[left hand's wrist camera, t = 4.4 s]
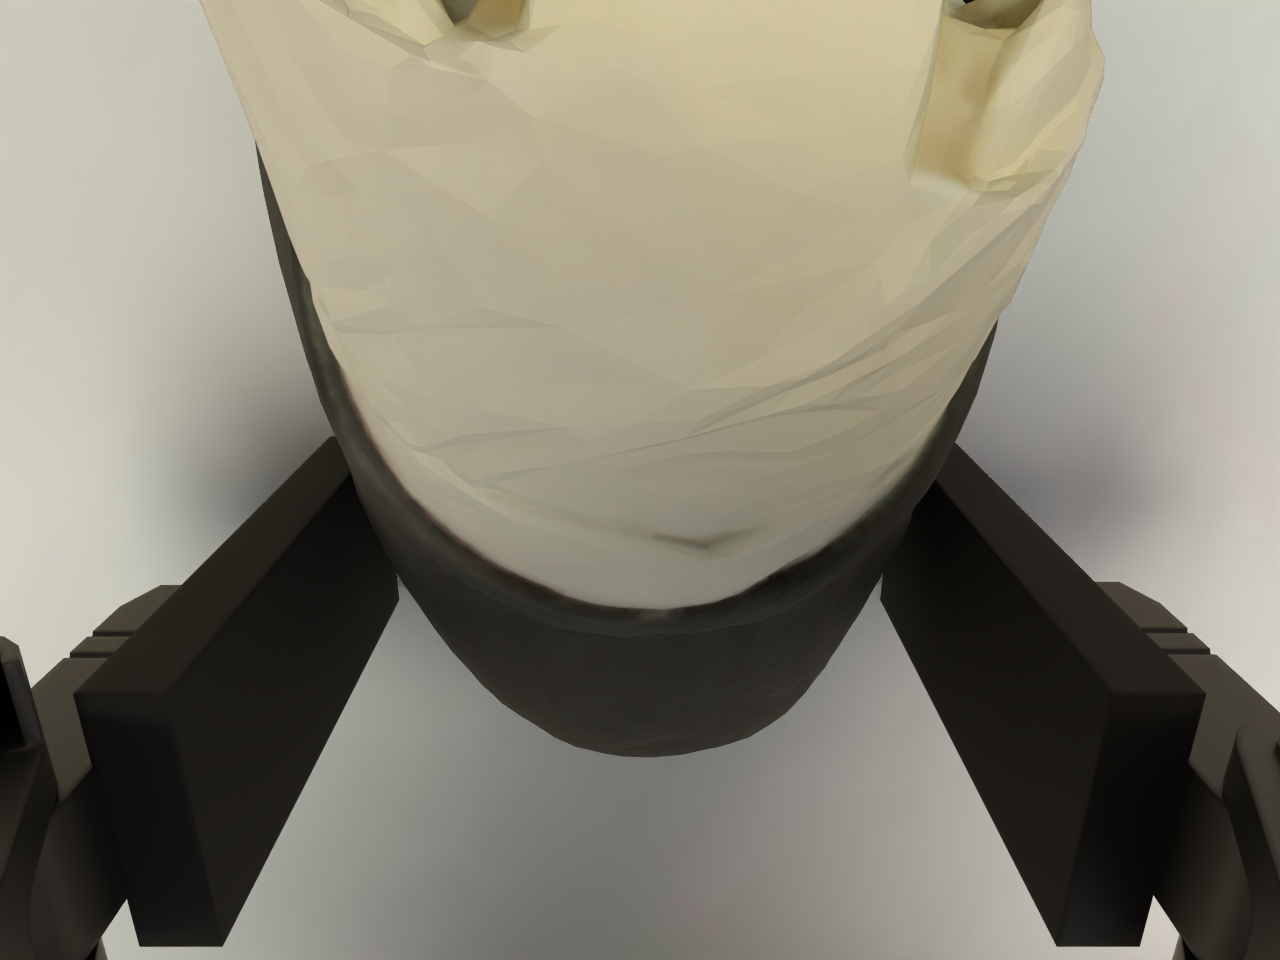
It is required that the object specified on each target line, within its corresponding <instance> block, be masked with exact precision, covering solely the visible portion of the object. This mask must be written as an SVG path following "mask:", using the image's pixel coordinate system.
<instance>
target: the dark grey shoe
mask: <svg viewBox="0 0 1280 960" xmlns="http://www.w3.org/2000/svg"><path fill="white" fill-rule="evenodd" d="M200 2H201V5H202V7H203V10H204V12H205V15H206V17H207V20H208V22H209V25H210V27H211V30H212V32H213V35H214V37H215V40H216V42H217V45H218V47H219V50H220V52H221V55H222V57H223V60H224V62H225V65H226V67H227V70H228V72H229V75H230V77H231V80H232V82H233V85H234V87H235V90H236V92H237V95H238V97H239V100H240V102H241V105H242V107H243V110H244V112H245V115H246V117H247V120H248V122H249V125H250V127H251V130H252V132H253V135H254V138H255V143H256V150H257V156H258V163H259V169H260V174H261V180H262V186H263V191H264V196H265V201H266V205H267V210H268V214H269V219H270V223H271V228H272V232H273V237H274V241H275V246H276V250H277V255H278V259H279V264H280V267H281V271H282V274H283V278H284V281H285V285H286V288H287V292H288V295H289V299H290V302H291V306H292V309H293V313H294V316H295V320H296V323H297V327H298V330H299V334H300V338H301V341H302V345H303V348H304V352H305V355H306V359H307V361H308V364H309V367H310V370H311V372H312V376H313V379H314V382H315V385H316V389H317V392H318V395H319V398H320V402H321V404H322V406H323V409H324V411H325V413H326V416H327V418H328V420H329V422H330V425H331V427H332V429H333V431H334V434H335V436H336V438H337V440H338V442H339V444H340V446H341V448H342V451H343V453H344V456H345V458H346V461H347V463H348V466H349V469H350V471H351V474H352V477H353V481H354V484H355V488H356V491H357V495H358V498H359V500H360V502H361V504H362V506H363V508H364V511H365V513H366V515H367V517H368V519H369V521H370V523H371V526H372V528H373V530H374V532H375V534H376V536H377V538H378V539H379V541H380V543H381V545H382V547H383V548H384V550H385V552H386V554H387V555H388V557H389V559H390V561H391V563H392V564H393V566H394V568H395V570H396V572H397V573H398V575H399V577H400V579H401V580H402V582H403V584H404V585H405V586H406V588H407V589H408V591H409V592H410V594H411V595H412V596H413V598H414V599H415V601H416V602H417V603H418V605H419V606H420V608H421V609H422V611H423V612H424V614H425V615H426V617H427V618H428V620H429V621H430V622H431V624H432V625H433V627H434V628H435V630H436V631H437V632H438V633H439V635H440V636H441V637H442V639H443V640H444V641H445V643H446V644H447V645H448V646H449V648H450V649H451V650H452V652H453V653H454V654H455V655H456V656H457V657H458V658H459V659H460V660H461V661H462V662H463V663H464V665H465V666H466V667H467V668H468V669H469V670H470V671H471V672H472V673H473V674H474V676H475V677H476V678H477V679H478V680H479V682H480V683H481V684H482V685H483V686H484V687H485V688H487V689H488V690H489V691H490V692H491V693H492V694H493V695H494V696H495V697H496V698H497V699H498V700H499V701H500V702H501V703H502V704H504V705H505V706H507V707H508V708H510V709H511V710H513V711H514V712H516V713H517V714H519V715H520V716H522V717H523V718H525V719H527V720H529V721H530V722H532V723H534V724H535V725H537V726H538V727H540V728H541V729H543V730H545V731H546V732H548V733H549V734H551V735H552V736H554V737H555V738H558V739H560V740H562V741H564V742H566V743H569V744H571V745H573V746H575V747H579V748H583V749H588V750H592V751H596V752H600V753H605V754H611V755H618V756H629V757H660V756H671V755H682V754H687V753H691V752H696V751H700V750H705V749H710V748H715V747H719V746H723V745H726V744H730V743H733V742H736V741H739V740H742V739H745V738H748V737H750V736H752V735H753V734H755V733H757V732H758V731H760V730H762V729H763V728H765V727H767V726H768V725H770V724H771V723H773V722H774V721H775V720H777V719H778V718H780V717H781V716H783V715H784V714H785V713H786V712H787V711H788V710H789V709H790V708H791V707H792V706H793V705H794V704H795V703H796V702H797V701H798V700H799V699H800V697H801V696H802V695H803V694H804V693H805V692H806V691H807V690H808V688H809V687H810V685H811V684H812V682H813V681H814V680H815V679H816V678H817V676H818V675H819V674H820V673H821V671H822V670H823V669H824V668H825V666H826V665H827V663H828V661H829V659H830V658H831V656H832V655H833V653H834V652H835V650H836V649H837V648H838V646H839V644H840V643H841V641H842V640H843V638H844V636H845V635H846V633H847V632H848V630H849V628H850V627H851V625H852V624H853V622H854V621H855V619H856V618H857V616H858V615H859V613H860V612H861V610H862V608H863V607H864V605H865V603H866V601H867V599H868V598H869V596H870V594H871V592H872V590H873V589H874V587H875V585H876V584H877V582H878V580H879V579H880V577H881V575H882V573H883V571H884V569H885V567H886V566H887V564H888V562H889V560H890V559H891V557H892V555H893V554H894V552H895V550H896V549H897V547H898V545H899V544H900V542H901V540H902V538H903V536H904V534H905V532H906V530H907V528H908V526H909V523H910V520H911V516H912V512H913V509H914V507H915V506H916V505H917V503H918V502H919V501H920V500H921V499H922V497H923V496H924V495H925V494H926V492H927V491H928V489H929V488H930V486H931V485H932V483H933V482H934V480H935V478H936V477H937V475H938V474H939V472H940V470H941V468H942V466H943V464H944V462H945V460H946V458H947V456H948V454H949V452H950V451H951V449H952V447H953V445H954V443H955V441H956V439H957V437H958V435H959V433H960V430H961V428H962V426H963V424H964V421H965V419H966V417H967V415H968V412H969V410H970V408H971V406H972V403H973V401H974V399H975V397H976V395H977V392H978V388H979V385H980V382H981V378H982V375H983V372H984V369H985V365H986V362H987V359H988V355H989V352H990V349H991V346H992V342H993V339H994V336H995V332H996V327H997V322H998V317H999V315H1000V313H1001V312H1002V310H1003V309H1004V308H1005V307H1006V306H1007V305H1008V304H1009V303H1010V302H1011V299H1012V297H1013V295H1014V293H1015V290H1016V288H1017V286H1018V284H1019V281H1020V279H1021V277H1022V275H1023V272H1024V270H1025V268H1026V266H1027V263H1028V261H1029V259H1030V256H1031V254H1032V252H1033V249H1034V247H1035V245H1036V242H1037V240H1038V238H1039V235H1040V233H1041V230H1042V227H1043V225H1044V222H1045V220H1046V217H1047V216H1048V214H1049V212H1050V210H1051V208H1052V206H1053V205H1054V203H1055V201H1056V199H1057V197H1058V196H1059V194H1060V192H1061V190H1062V188H1063V186H1064V185H1065V183H1066V181H1067V179H1068V177H1069V174H1070V172H1071V169H1072V166H1073V163H1074V160H1075V158H1076V155H1077V153H1078V151H1079V149H1080V148H1081V146H1082V144H1083V143H1084V141H1085V136H1086V130H1087V124H1088V121H1089V119H1090V116H1091V113H1092V110H1093V108H1094V105H1095V102H1096V99H1097V96H1098V94H1099V91H1100V88H1101V85H1102V83H1103V80H1104V55H1103V53H1102V51H1101V48H1100V46H1099V44H1098V42H1097V40H1096V38H1095V36H1094V34H1093V32H1092V20H1091V0H200Z"/></svg>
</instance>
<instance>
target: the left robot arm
mask: <svg viewBox="0 0 1280 960" xmlns="http://www.w3.org/2000/svg"><path fill="white" fill-rule="evenodd" d="M880 600H881V602H882V604H883V606H884V608H885V610H886V612H887V614H888V616H889V618H890V620H891V622H892V624H893V626H894V628H895V630H896V632H897V634H898V636H899V637H900V639H901V641H902V643H903V645H904V647H905V649H906V651H907V653H908V655H909V657H910V659H911V661H912V663H913V665H914V667H915V669H916V671H917V673H918V675H919V677H920V679H921V681H922V683H923V685H924V687H925V689H926V691H927V692H928V694H929V696H930V698H931V700H932V702H933V704H934V706H935V708H936V710H937V712H938V714H939V716H940V718H941V720H942V722H943V724H944V726H945V728H946V730H947V732H948V734H949V736H950V738H951V740H952V742H953V744H954V746H955V747H956V749H957V751H958V753H959V755H960V757H961V759H962V761H963V763H964V765H965V767H966V769H967V771H968V773H969V775H970V777H971V779H972V781H973V783H974V785H975V787H976V789H977V791H978V793H979V795H980V797H981V799H982V801H983V802H984V804H985V806H986V808H987V810H988V812H989V814H990V816H991V818H992V820H993V822H994V824H995V826H996V828H997V830H998V832H999V834H1000V836H1001V838H1002V840H1003V842H1004V844H1005V846H1006V848H1007V850H1008V852H1009V854H1010V856H1011V857H1012V859H1013V861H1014V863H1015V865H1016V867H1017V869H1018V871H1019V873H1020V875H1021V877H1022V879H1023V881H1024V883H1025V885H1026V887H1027V889H1028V891H1029V893H1030V895H1031V897H1032V899H1033V901H1034V903H1035V905H1036V907H1037V909H1038V911H1039V912H1040V914H1041V916H1042V918H1043V920H1044V922H1045V924H1046V926H1047V928H1048V930H1049V932H1050V934H1051V936H1052V938H1053V940H1054V942H1055V944H1056V946H1057V947H1140V943H1141V940H1142V936H1143V932H1144V928H1145V924H1146V921H1147V917H1148V913H1149V909H1150V906H1151V902H1152V898H1153V895H1154V896H1155V898H1156V899H1157V901H1158V902H1159V904H1160V905H1161V907H1162V908H1163V910H1164V911H1165V913H1166V914H1167V916H1168V917H1169V919H1170V920H1171V922H1172V923H1173V925H1174V926H1175V928H1176V929H1177V931H1178V932H1179V938H1178V941H1177V945H1176V948H1175V952H1174V956H1173V959H1172V960H1280V712H1278V711H1277V710H1276V709H1275V708H1274V707H1273V706H1272V705H1271V704H1270V703H1269V702H1267V701H1266V700H1265V699H1264V698H1263V697H1262V696H1261V695H1260V694H1259V693H1258V692H1257V691H1255V690H1254V689H1253V688H1252V687H1251V686H1250V685H1249V684H1248V683H1247V682H1246V681H1245V680H1243V679H1242V678H1241V677H1240V676H1239V675H1238V674H1237V673H1236V672H1235V671H1234V670H1232V669H1231V668H1230V667H1229V666H1228V665H1227V664H1226V663H1225V662H1224V661H1223V660H1222V659H1220V658H1219V657H1218V656H1217V655H1211V653H1210V649H1209V648H1208V647H1207V646H1206V645H1205V644H1204V643H1203V642H1202V641H1201V640H1200V639H1199V638H1197V637H1196V636H1195V635H1194V634H1193V633H1188V632H1187V628H1186V627H1185V626H1184V625H1183V624H1182V623H1181V622H1180V621H1179V620H1178V619H1177V618H1176V617H1174V616H1173V615H1172V614H1171V613H1170V612H1169V611H1168V610H1167V609H1166V608H1165V607H1164V606H1162V605H1161V604H1160V603H1158V602H1157V601H1155V600H1153V599H1151V598H1149V597H1147V596H1145V595H1143V594H1141V593H1139V592H1137V591H1135V590H1134V589H1132V588H1130V587H1128V586H1126V585H1124V584H1122V583H1120V582H1094V581H1093V580H1092V579H1091V578H1090V577H1089V576H1088V575H1087V574H1086V573H1085V572H1084V571H1083V570H1082V569H1081V568H1080V567H1079V566H1078V565H1077V564H1076V563H1075V562H1074V561H1073V560H1072V559H1071V558H1070V557H1069V556H1068V555H1067V554H1066V553H1065V552H1064V551H1063V550H1062V549H1061V548H1060V547H1059V546H1058V545H1057V544H1056V543H1055V542H1054V541H1053V540H1052V539H1051V538H1050V537H1049V536H1048V535H1047V534H1046V533H1045V532H1044V531H1043V530H1042V529H1041V528H1040V527H1039V526H1038V525H1037V524H1036V523H1035V522H1034V521H1033V520H1032V519H1031V518H1030V517H1029V516H1028V515H1027V514H1026V513H1025V512H1024V511H1023V510H1022V509H1021V508H1020V507H1019V506H1018V505H1017V504H1016V503H1015V502H1014V501H1013V500H1012V499H1011V498H1010V497H1009V496H1008V495H1007V494H1006V493H1005V492H1004V491H1003V490H1002V489H1001V488H1000V487H999V486H998V485H997V484H996V483H995V482H994V481H993V480H992V479H991V478H990V477H989V476H988V475H987V474H986V473H985V472H984V471H983V470H982V469H981V468H980V467H979V466H978V465H977V464H976V463H975V462H974V461H973V460H972V459H971V458H970V457H969V456H968V455H967V454H966V453H965V452H964V451H963V450H962V449H961V448H960V447H959V446H958V445H957V444H956V443H954V445H953V447H952V449H951V451H950V452H949V454H948V456H947V458H946V460H945V462H944V464H943V466H942V468H941V470H940V472H939V474H938V475H937V477H936V478H935V480H934V482H933V483H932V485H931V486H930V488H929V489H928V491H927V492H926V494H925V495H924V496H923V497H922V499H921V500H920V501H919V502H918V503H917V505H916V506H915V507H914V509H913V512H912V516H911V520H910V523H909V526H908V528H907V530H906V532H905V534H904V536H903V538H902V540H901V542H900V544H899V545H898V547H897V549H896V550H895V552H894V554H893V555H892V557H891V559H890V560H889V562H888V564H887V566H886V567H885V569H884V571H883V579H882V588H881V598H880ZM398 601H399V594H398V584H397V575H396V570H395V568H394V566H393V564H392V563H391V561H390V559H389V557H388V555H387V554H386V552H385V550H384V548H383V547H382V545H381V543H380V541H379V539H378V538H377V536H376V534H375V532H374V530H373V528H372V526H371V523H370V521H369V519H368V517H367V515H366V513H365V511H364V508H363V506H362V504H361V502H360V500H359V498H358V495H357V491H356V488H355V484H354V481H353V477H352V474H351V471H350V469H349V466H348V463H347V461H346V458H345V456H344V453H343V451H342V448H341V446H340V444H339V442H338V440H337V438H336V437H329V438H328V439H327V440H326V441H325V442H324V443H323V444H322V445H321V446H320V447H319V448H318V449H317V450H316V451H315V452H314V453H313V454H312V455H311V456H310V457H309V458H308V459H307V460H306V461H305V462H304V463H303V464H302V465H301V466H300V467H299V468H298V469H297V470H296V471H295V472H294V473H293V474H292V475H291V476H290V477H289V478H288V479H287V480H286V481H285V482H284V483H283V484H282V485H281V486H280V487H279V488H278V489H277V490H276V491H275V492H274V493H273V494H272V495H271V496H270V497H269V498H268V499H267V500H266V501H265V502H264V503H263V504H262V505H261V506H260V507H259V508H258V509H257V510H256V511H255V512H254V513H253V514H252V515H251V516H250V517H249V518H248V519H247V520H246V521H245V522H244V523H243V524H242V525H241V526H240V527H239V528H238V529H237V530H236V531H235V532H234V533H233V534H232V535H231V536H230V537H229V538H228V539H227V540H226V541H225V542H224V543H223V544H222V545H221V546H220V547H219V548H218V549H217V550H216V551H215V552H214V553H213V554H212V555H211V556H210V557H209V558H208V559H207V560H206V561H205V562H204V563H203V564H202V565H201V566H200V567H199V568H198V569H197V570H196V571H195V572H194V573H193V574H192V575H191V576H190V577H189V578H188V579H187V580H186V581H185V582H184V583H183V584H182V585H160V586H158V587H156V588H154V589H153V590H151V591H149V592H147V593H145V594H143V595H141V596H139V597H137V598H135V599H134V600H132V601H130V602H128V603H126V604H124V605H122V606H120V607H119V608H118V609H117V610H116V611H115V612H114V613H113V614H111V615H110V616H109V617H108V618H107V619H106V620H105V621H104V622H103V623H102V624H101V625H100V626H98V627H97V628H96V629H95V630H94V631H93V636H92V637H86V638H85V639H84V640H83V641H82V642H81V643H80V644H79V645H78V646H77V647H76V648H75V649H73V650H72V651H71V652H70V658H64V659H63V660H62V661H60V662H59V663H58V664H57V665H56V666H55V667H54V668H53V669H52V670H51V671H50V672H48V673H47V674H46V675H45V676H44V677H43V678H42V679H41V680H40V681H39V682H38V683H37V684H35V685H34V686H33V687H32V688H30V684H29V681H28V677H27V674H26V670H25V667H24V663H23V660H22V656H21V653H20V649H19V646H18V645H17V644H15V643H13V642H12V641H10V640H9V639H7V638H5V637H3V636H0V960H107V956H106V952H105V948H104V945H103V941H102V938H101V936H102V935H103V933H104V932H105V930H106V929H107V927H108V926H109V924H110V923H111V921H112V920H113V918H114V917H115V915H116V914H117V912H118V911H119V909H120V908H121V906H122V905H123V903H124V902H125V900H126V899H127V901H128V904H129V908H130V912H131V916H132V920H133V923H134V927H135V931H136V935H137V938H138V942H139V946H140V947H223V945H224V943H225V941H226V939H227V937H228V935H229V933H230V931H231V929H232V927H233V925H234V923H235V921H236V919H237V917H238V915H239V913H240V911H241V909H242V907H243V905H244V903H245V901H246V899H247V898H248V896H249V894H250V892H251V890H252V888H253V886H254V884H255V882H256V880H257V878H258V876H259V874H260V872H261V870H262V868H263V866H264V864H265V862H266V860H267V858H268V856H269V854H270V852H271V850H272V848H273V846H274V844H275V843H276V841H277V839H278V837H279V835H280V833H281V831H282V829H283V827H284V825H285V823H286V821H287V819H288V817H289V815H290V813H291V811H292V809H293V807H294V805H295V803H296V801H297V799H298V797H299V795H300V793H301V791H302V790H303V788H304V786H305V784H306V782H307V780H308V778H309V776H310V774H311V772H312V770H313V768H314V766H315V764H316V762H317V760H318V758H319V756H320V754H321V752H322V750H323V748H324V746H325V744H326V742H327V740H328V738H329V736H330V735H331V733H332V731H333V729H334V727H335V725H336V723H337V721H338V719H339V717H340V715H341V713H342V711H343V709H344V707H345V705H346V703H347V701H348V699H349V697H350V695H351V693H352V691H353V689H354V687H355V685H356V683H357V682H358V680H359V678H360V676H361V674H362V672H363V670H364V668H365V666H366V664H367V662H368V660H369V658H370V656H371V654H372V652H373V650H374V648H375V646H376V644H377V642H378V640H379V638H380V636H381V634H382V632H383V630H384V628H385V627H386V625H387V623H388V621H389V619H390V617H391V615H392V613H393V611H394V609H395V607H396V605H397V603H398Z"/></svg>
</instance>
